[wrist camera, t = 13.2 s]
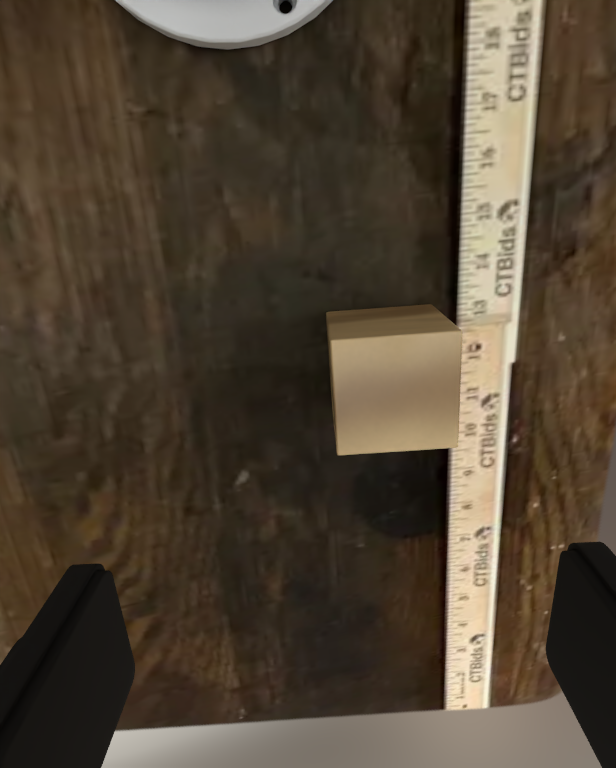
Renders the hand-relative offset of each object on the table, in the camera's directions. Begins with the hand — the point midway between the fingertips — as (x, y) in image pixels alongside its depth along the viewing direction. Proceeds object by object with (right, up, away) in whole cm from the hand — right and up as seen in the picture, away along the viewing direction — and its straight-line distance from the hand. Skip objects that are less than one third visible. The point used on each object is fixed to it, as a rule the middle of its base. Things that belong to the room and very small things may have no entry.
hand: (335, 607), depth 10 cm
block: (+3, +6, +14) cm, 15 cm away
